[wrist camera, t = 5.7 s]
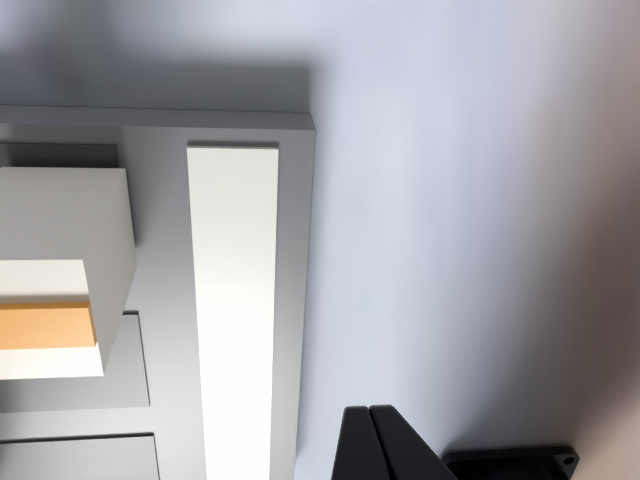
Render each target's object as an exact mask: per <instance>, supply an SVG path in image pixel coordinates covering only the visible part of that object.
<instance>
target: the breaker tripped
mask: <svg viewBox="0 0 640 480" xmlns="http://www.w3.org/2000/svg"><path fill="white" fill-rule="evenodd" d="M136 268H137V259H136V251H135V243H134V235H133V227H132V219H131V210H130V202H129V194H128V186H127V178H126V170H125V168H50V167H1V168H0V380H4V379H31V378H59V377H86V376H104V373H105V370H106V367H107V364H108V360H109V357H110V354H111V350H112V347H113V344H114V341H115V337H116V334H117V331H118V327H119V324H120V321H121V318H122V314H123V311H124V308H125V304H126V301H127V298H128V294H129V291H130V288H131V285H132V281H133V278H134V275H135V271H136Z"/></svg>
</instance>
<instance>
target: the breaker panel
mask: <svg viewBox="0 0 640 480" xmlns="http://www.w3.org/2000/svg"><path fill="white" fill-rule="evenodd" d="M315 137H316V129H315V126H314V123H313V120H312V117H311V114H310V113H286V112H249V111H212V110H174V109H137V108H100V107H62V106H25V105H0V168H1V167H50V168H125V170H126V178H127V186H128V194H129V202H130V210H131V219H132V227H133V235H134V243H135V251H136V259H137V268H136V271H135V275H134V278H133V281H132V285H131V288H130V291H129V294H128V298H127V301H126V304H125V308H124V311H123V314H122V318H121V321H120V324H119V327H118V331H117V334H116V337H115V341H114V344H113V347H112V350H111V354H110V357H109V360H108V364H107V367H106V370H105V373H104V376H86V377H59V378H31V379H4V380H0V480H294V471H295V455H296V439H297V423H298V407H299V391H300V375H301V359H302V344H303V328H304V312H305V296H306V280H307V264H308V248H309V233H310V217H311V201H312V185H313V169H314V153H315Z"/></svg>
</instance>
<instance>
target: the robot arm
mask: <svg viewBox="0 0 640 480" xmlns="http://www.w3.org/2000/svg"><path fill="white" fill-rule="evenodd" d="M578 462H579V456H578V454H577V452H576V451H575V449H574V448H573V447H568V446H567V447H551V448H534V449H517V450H500V451H484V452H467V453H452V454H448V455H446V456H444V457H443V458H442V459H441V460H440V458H439V457H438V456H437V455H436V454H435V453H434V452H433V451H432V449H431V448H430V447H429V446H428V445H427V444H426V443H425V441H424V440H423V439H422V438H421V437H420V436H419V435H418V434H417V432H416V431H415V430H414V429H413V428H412V427H411V426H410V424H409V423H408V422H407V421H406V420H405V419H404V418H403V417H402V415H401V414H400V413H399V412H398V411H397V410H396V409H395V408H394V407H393V406H392V405H372V406H370V407H369V408H368V407H366V406H348V407H346V408H345V409H344V413H343V418H342V424H341V429H340V434H339V440H338V445H337V450H336V455H335V461H334V466H333V471H332V477H331V480H570V479H571V477H572V475H573V473H574V470H575V468H576V466H577V464H578Z"/></svg>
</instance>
